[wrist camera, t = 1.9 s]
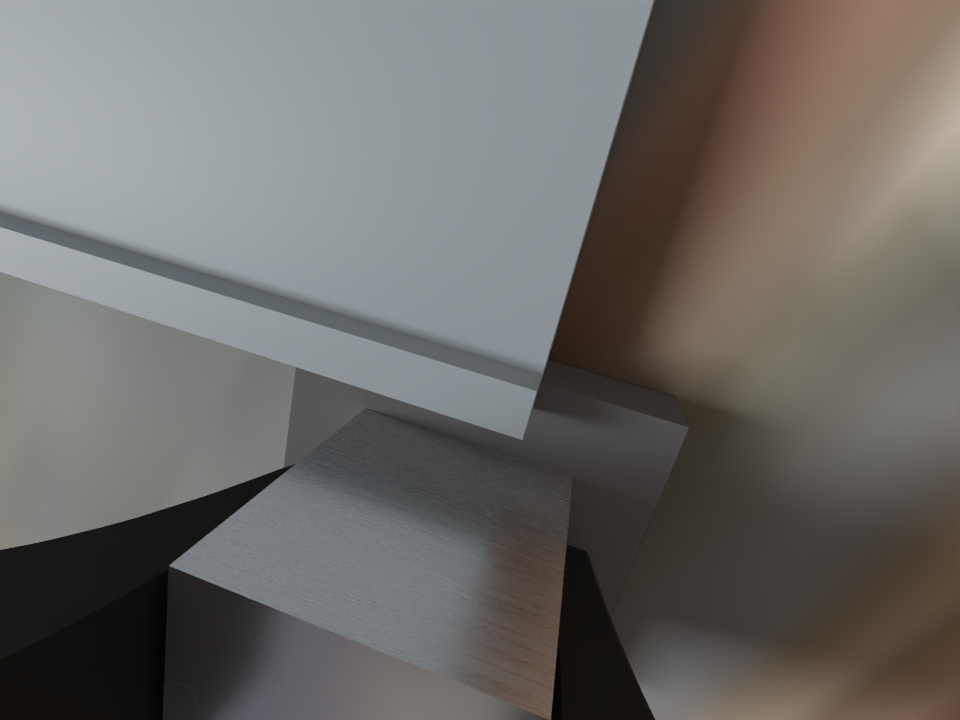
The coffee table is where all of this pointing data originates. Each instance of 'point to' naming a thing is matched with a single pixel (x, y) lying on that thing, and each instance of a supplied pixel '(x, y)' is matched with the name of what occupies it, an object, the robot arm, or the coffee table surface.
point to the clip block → (376, 587)
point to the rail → (321, 176)
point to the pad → (545, 449)
